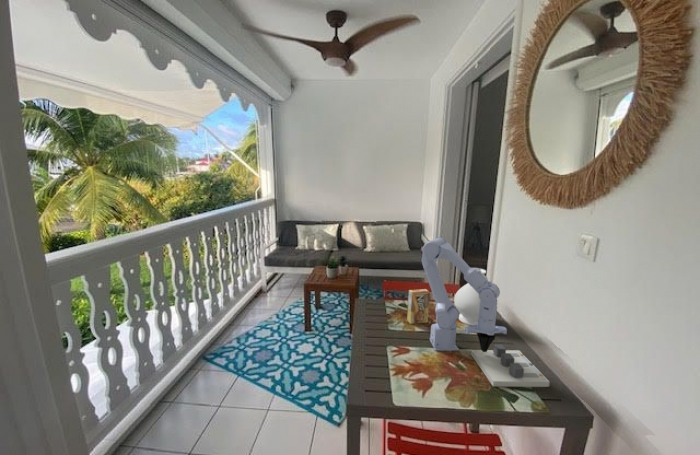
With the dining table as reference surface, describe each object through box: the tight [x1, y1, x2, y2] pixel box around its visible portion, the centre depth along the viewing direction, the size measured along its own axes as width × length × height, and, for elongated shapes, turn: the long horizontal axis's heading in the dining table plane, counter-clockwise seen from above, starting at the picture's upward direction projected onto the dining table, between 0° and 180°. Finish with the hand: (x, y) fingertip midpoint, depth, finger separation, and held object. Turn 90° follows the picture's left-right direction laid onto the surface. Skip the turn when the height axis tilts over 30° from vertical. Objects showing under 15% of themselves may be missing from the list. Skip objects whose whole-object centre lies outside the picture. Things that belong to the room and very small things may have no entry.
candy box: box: [406, 288, 431, 325], centre depth 133 cm, size 9×4×15 cm, turn 103°
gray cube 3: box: [509, 363, 524, 377], centre depth 96 cm, size 3×3×3 cm
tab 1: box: [492, 343, 507, 357], centre depth 107 cm, size 3×3×3 cm
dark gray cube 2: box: [501, 353, 514, 366], centre depth 101 cm, size 3×3×3 cm
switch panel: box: [470, 349, 550, 388], centre depth 102 cm, size 18×17×2 cm
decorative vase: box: [453, 267, 489, 326], centre depth 135 cm, size 18×18×25 cm
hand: (483, 350), depth 107 cm, fingers closed
